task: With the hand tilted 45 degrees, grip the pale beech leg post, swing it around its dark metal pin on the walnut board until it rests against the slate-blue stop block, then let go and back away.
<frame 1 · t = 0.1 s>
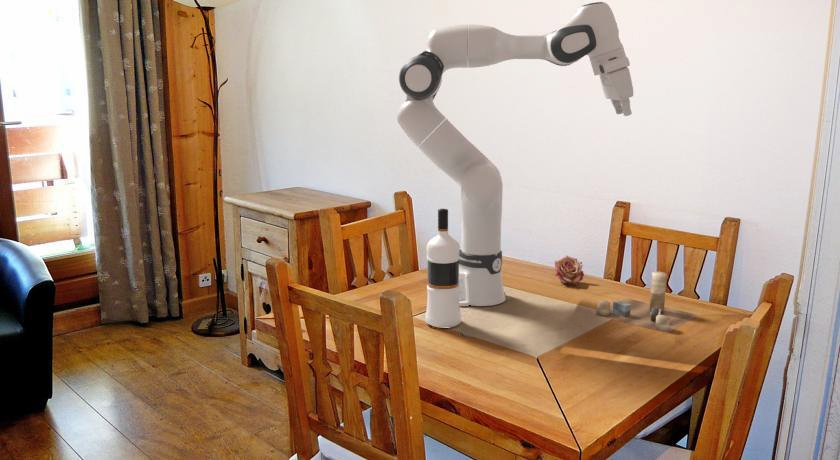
hand: (624, 114, 178), 52 cm above the table, tool tilted 20°, fingers open, 8 cm apart
leg: (657, 295, 172), point 7 cm above the table, hinge at 0.0°
flower: (568, 284, 206), on the table
vodka: (443, 324, 173), on the table
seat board: (644, 319, 174), on the table
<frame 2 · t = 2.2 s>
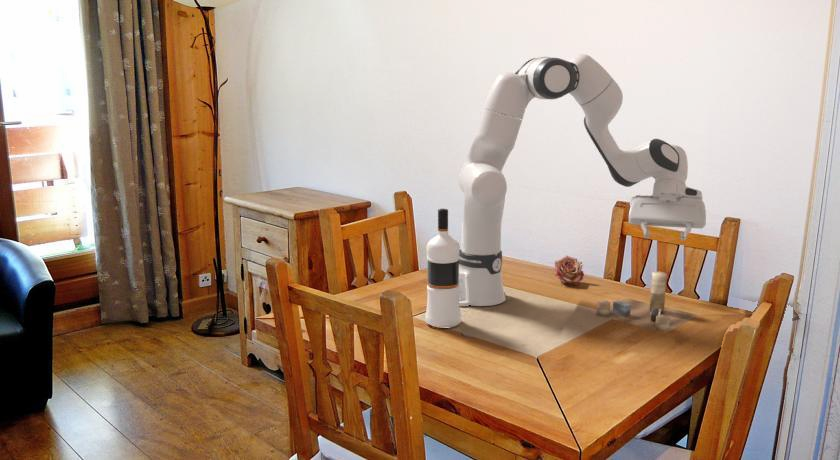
hand: (664, 238, 184), 18 cm above the table, tool tilted 45°, fingers open, 8 cm apart
nothing on the table moved.
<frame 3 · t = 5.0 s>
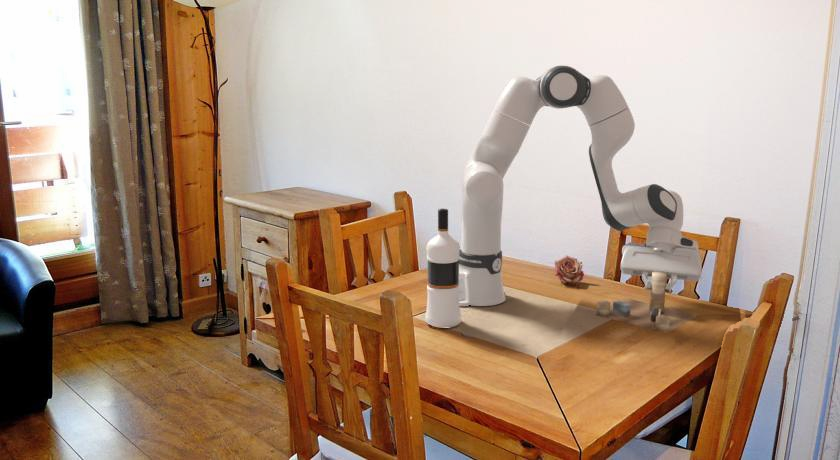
hand: (658, 290, 174), 7 cm above the table, tool tilted 45°, fingers closed on leg, 4 cm apart
leg: (657, 295, 172), point 7 cm above the table, hinge at 0.0°, touching gripper
everything else where it was.
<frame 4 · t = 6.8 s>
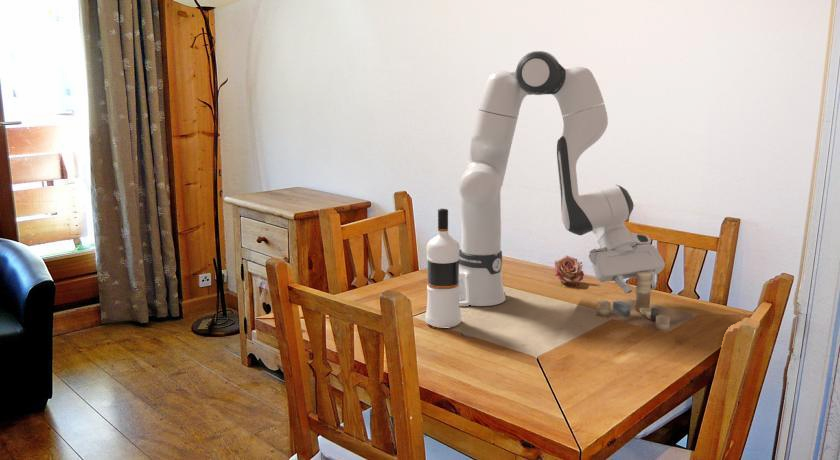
hand: (641, 290, 174), 8 cm above the table, tool tilted 45°, fingers open, 6 cm apart
leg: (648, 295, 172), point 7 cm above the table, hinge at 26.9°, touching gripper
everything else where it was.
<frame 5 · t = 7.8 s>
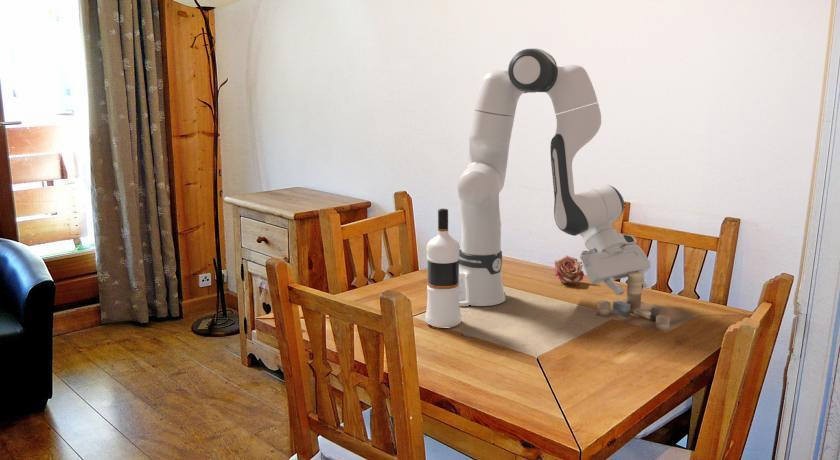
hand: (632, 291, 174), 7 cm above the table, tool tilted 45°, fingers open, 7 cm apart
leg: (643, 296, 172), point 7 cm above the table, hinge at 45.8°
everything else where it was.
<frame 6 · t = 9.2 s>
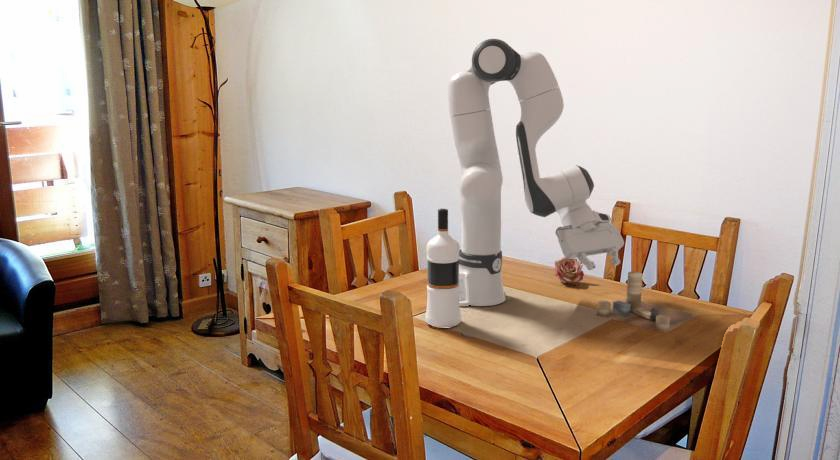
hand: (604, 266, 180), 12 cm above the table, tool tilted 45°, fingers open, 8 cm apart
nothing on the table moved.
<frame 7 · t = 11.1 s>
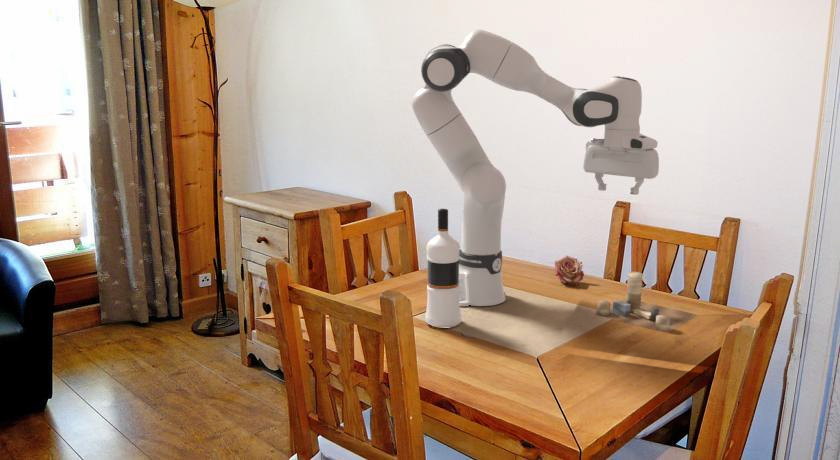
hand: (617, 192, 179), 32 cm above the table, tool pointing down, fingers open, 8 cm apart
nothing on the table moved.
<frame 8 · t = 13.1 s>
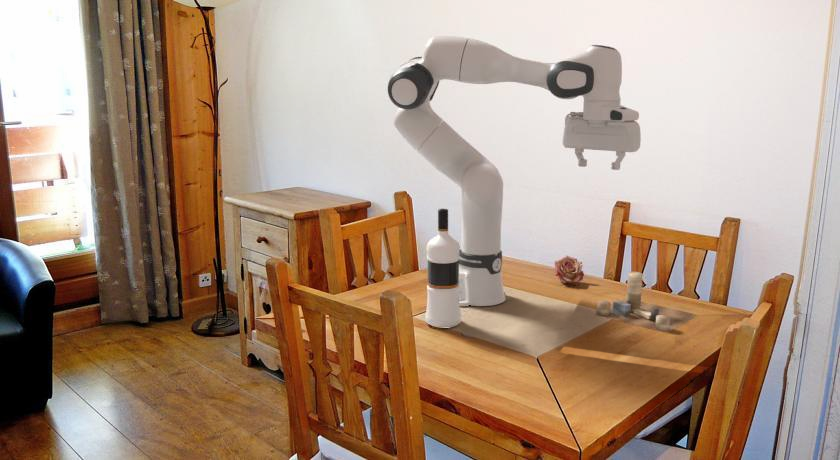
hand: (598, 168, 170), 39 cm above the table, tool pointing down, fingers open, 8 cm apart
nothing on the table moved.
at the end: leg at +46° (first picture: +0°); the gripper is holding nothing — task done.
